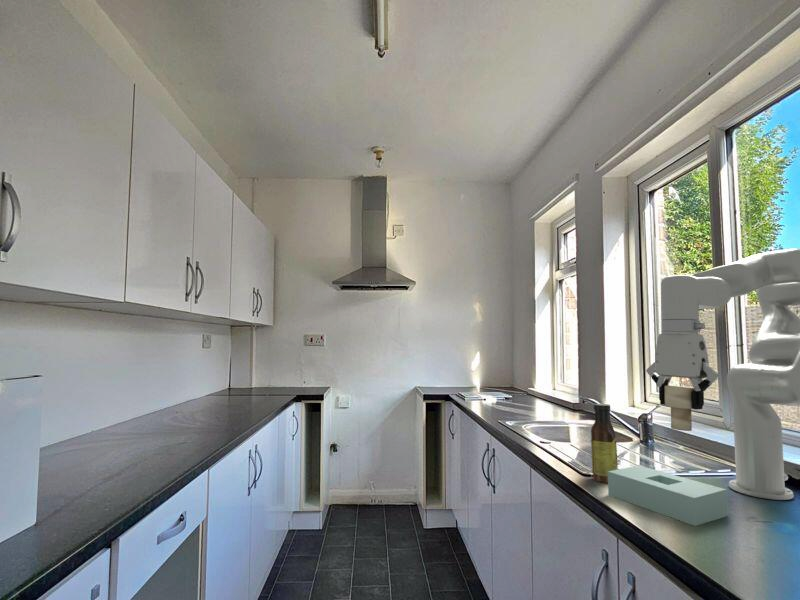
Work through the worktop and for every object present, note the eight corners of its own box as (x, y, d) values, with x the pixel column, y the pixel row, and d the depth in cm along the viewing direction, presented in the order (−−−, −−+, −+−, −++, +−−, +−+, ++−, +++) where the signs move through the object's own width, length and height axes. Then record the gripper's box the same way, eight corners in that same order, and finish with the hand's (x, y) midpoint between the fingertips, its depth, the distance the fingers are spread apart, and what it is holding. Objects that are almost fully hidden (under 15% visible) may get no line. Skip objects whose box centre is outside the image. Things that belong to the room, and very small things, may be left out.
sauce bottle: (622, 484, 117) (621, 406, 118) (599, 484, 116) (598, 406, 118) (609, 476, 123) (607, 402, 125) (587, 476, 123) (586, 402, 124)
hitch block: (640, 487, 114) (639, 465, 115) (727, 516, 97) (726, 489, 97) (608, 494, 109) (607, 471, 109) (695, 526, 91) (694, 497, 91)
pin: (675, 425, 107) (674, 385, 108) (703, 431, 102) (703, 388, 103) (659, 427, 104) (658, 385, 105) (688, 432, 99) (687, 388, 99)
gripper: (730, 329, 99) (731, 412, 98) (653, 329, 114) (653, 401, 113) (711, 327, 96) (713, 413, 94) (634, 327, 111) (635, 402, 109)
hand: (680, 406), depth 103 cm, fingers closed on pin, 6 cm apart
